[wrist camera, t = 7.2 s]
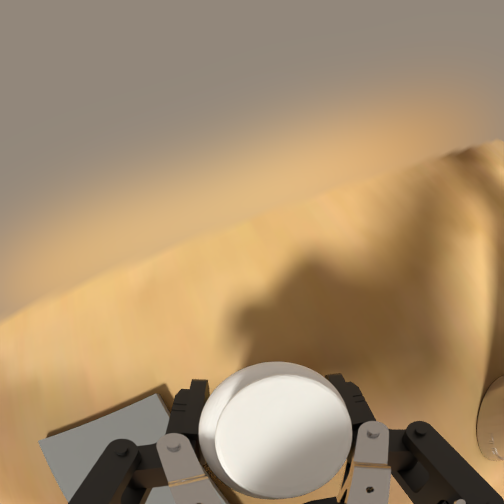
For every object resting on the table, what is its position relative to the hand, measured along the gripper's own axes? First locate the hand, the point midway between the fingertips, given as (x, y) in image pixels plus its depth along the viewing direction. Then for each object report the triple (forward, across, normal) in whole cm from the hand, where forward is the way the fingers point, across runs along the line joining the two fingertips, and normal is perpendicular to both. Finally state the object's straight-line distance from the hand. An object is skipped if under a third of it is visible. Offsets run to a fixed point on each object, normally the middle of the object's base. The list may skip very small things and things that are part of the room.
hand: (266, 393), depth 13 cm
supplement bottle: (+2, 0, +4) cm, 5 cm away
